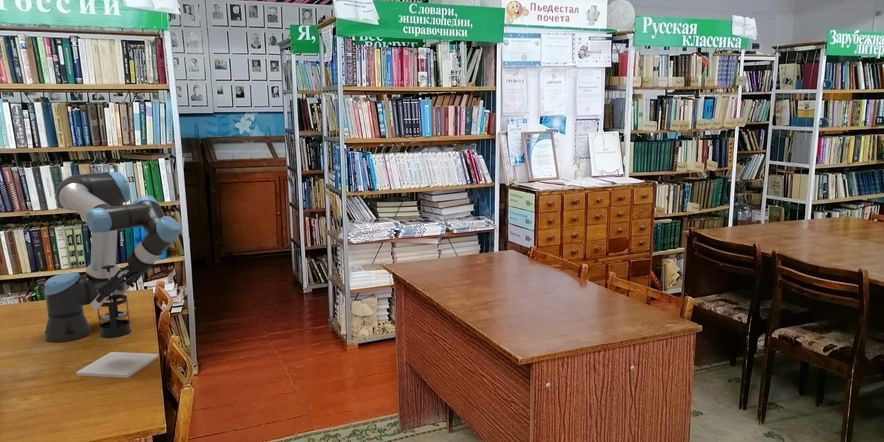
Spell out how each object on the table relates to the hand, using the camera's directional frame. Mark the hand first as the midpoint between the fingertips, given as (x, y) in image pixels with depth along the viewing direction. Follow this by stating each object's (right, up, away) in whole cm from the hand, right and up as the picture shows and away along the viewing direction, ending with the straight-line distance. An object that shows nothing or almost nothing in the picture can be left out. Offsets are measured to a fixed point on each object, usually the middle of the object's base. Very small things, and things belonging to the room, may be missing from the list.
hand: (104, 302), depth 216 cm
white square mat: (+3, -22, +4) cm, 22 cm away
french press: (+3, -11, +1) cm, 11 cm away
